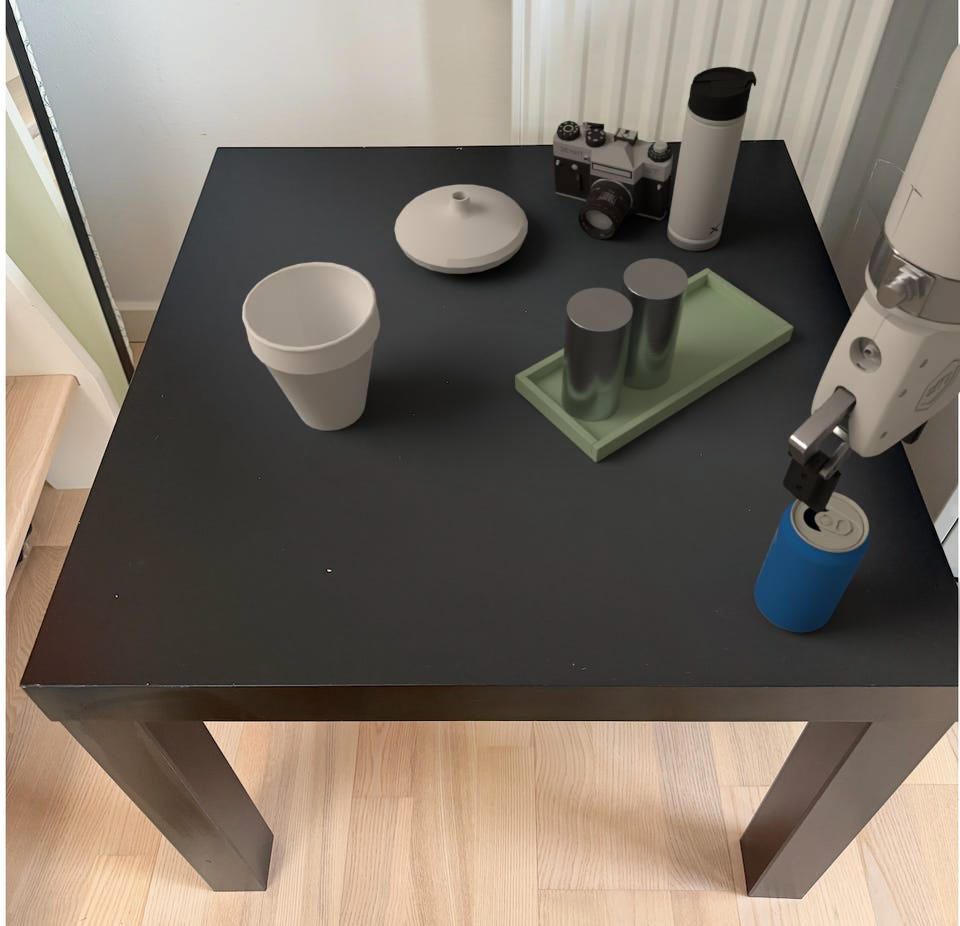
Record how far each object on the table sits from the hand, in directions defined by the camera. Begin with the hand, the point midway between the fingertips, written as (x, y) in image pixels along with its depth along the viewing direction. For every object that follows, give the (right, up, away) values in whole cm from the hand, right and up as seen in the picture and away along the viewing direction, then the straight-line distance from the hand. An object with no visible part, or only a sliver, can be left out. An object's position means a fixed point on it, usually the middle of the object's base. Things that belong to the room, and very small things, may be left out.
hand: (849, 463), depth 63 cm
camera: (-11, +30, +50) cm, 59 cm away
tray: (-7, +10, +33) cm, 35 cm away
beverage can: (+1, -12, +14) cm, 19 cm away
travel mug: (0, +27, +47) cm, 54 cm away
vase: (-28, +26, +46) cm, 60 cm away
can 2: (-9, +10, +32) cm, 34 cm away
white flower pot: (-41, +6, +30) cm, 51 cm away
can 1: (-14, +6, +29) cm, 33 cm away
